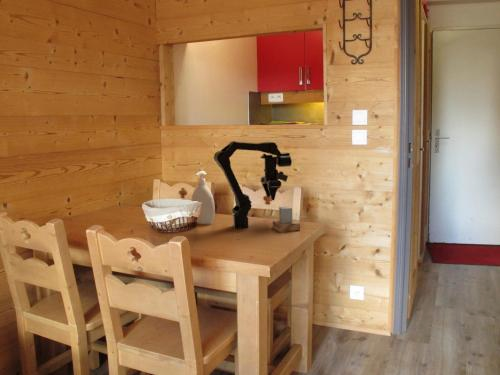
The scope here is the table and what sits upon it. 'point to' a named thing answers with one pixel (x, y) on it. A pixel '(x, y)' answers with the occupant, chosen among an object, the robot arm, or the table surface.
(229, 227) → the table surface
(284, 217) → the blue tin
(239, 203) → the robot arm
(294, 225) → the walnut block
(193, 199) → the soap bottle
